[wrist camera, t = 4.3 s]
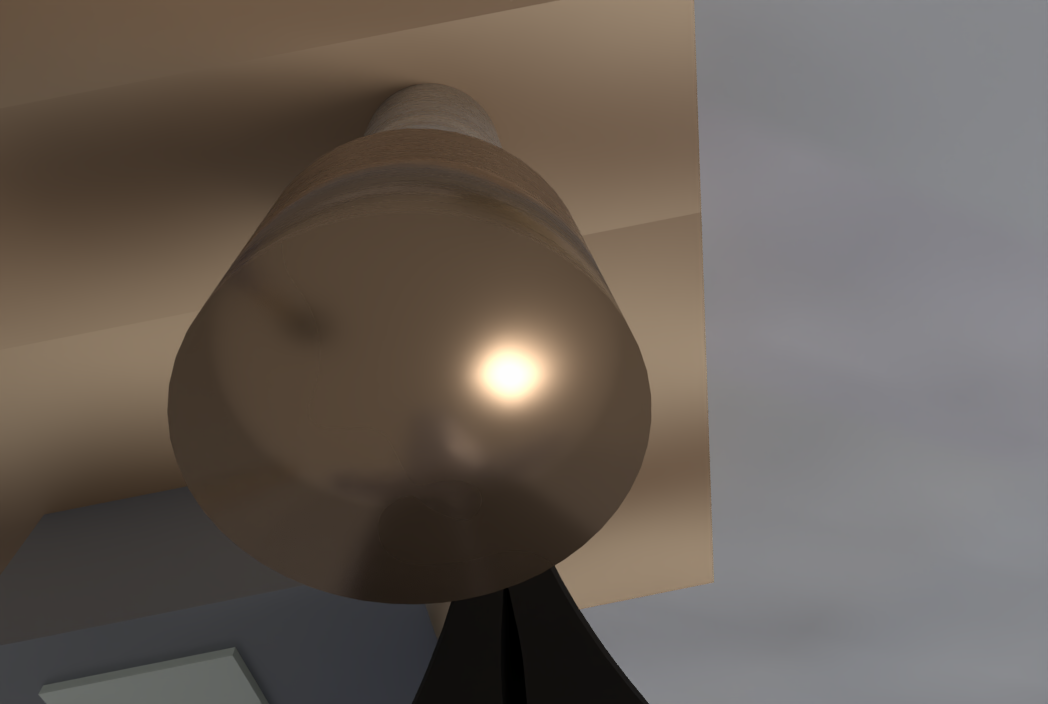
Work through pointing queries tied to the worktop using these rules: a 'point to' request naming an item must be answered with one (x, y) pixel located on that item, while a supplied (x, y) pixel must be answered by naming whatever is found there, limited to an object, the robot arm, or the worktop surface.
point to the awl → (412, 370)
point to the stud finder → (190, 619)
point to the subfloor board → (271, 165)
